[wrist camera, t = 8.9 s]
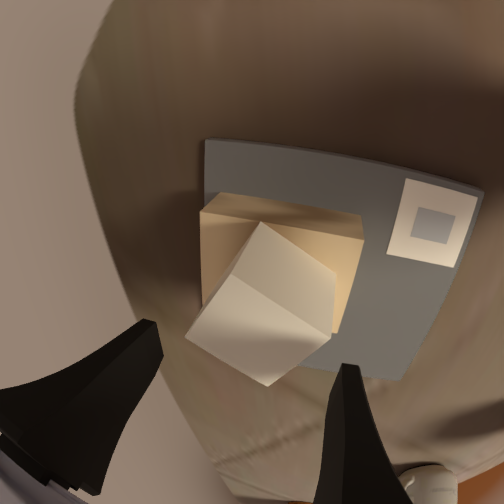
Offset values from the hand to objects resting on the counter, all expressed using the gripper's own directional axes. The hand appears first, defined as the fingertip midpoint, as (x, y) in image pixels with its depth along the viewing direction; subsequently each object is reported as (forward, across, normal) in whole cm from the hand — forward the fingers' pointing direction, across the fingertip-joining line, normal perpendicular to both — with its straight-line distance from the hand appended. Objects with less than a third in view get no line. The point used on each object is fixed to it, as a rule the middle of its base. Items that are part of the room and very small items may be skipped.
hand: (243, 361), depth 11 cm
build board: (+10, -3, +2) cm, 10 cm away
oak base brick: (+9, 0, 0) cm, 9 cm away
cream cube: (+6, 0, 0) cm, 6 cm away
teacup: (+10, -23, +32) cm, 40 cm away
